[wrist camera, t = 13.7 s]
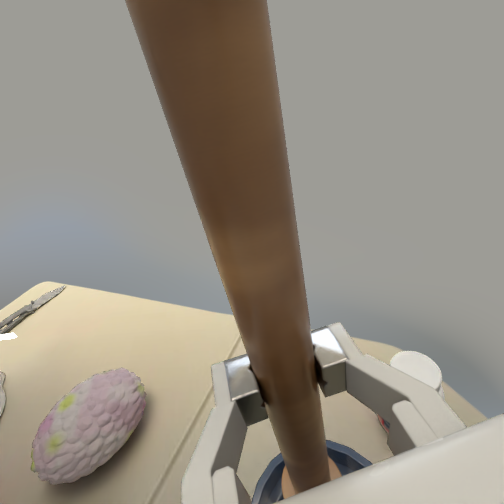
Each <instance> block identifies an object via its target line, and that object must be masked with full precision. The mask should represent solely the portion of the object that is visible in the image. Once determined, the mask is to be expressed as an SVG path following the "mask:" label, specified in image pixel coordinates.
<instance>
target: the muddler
mask: <svg viewBox="0 0 504 504" xmlns="http://www.w3.org/2000/svg"><path fill="white" fill-rule="evenodd" d="M125 1H126V4H127V7H128V10H129V13H130V16H131V19H132V22H133V25H134V27H135V30H136V33H137V36H138V39H139V42H140V45H141V48H142V50H143V53H144V56H145V59H146V62H147V65H148V68H149V71H150V74H151V77H152V79H153V83H154V85H155V88H156V91H157V94H158V97H159V100H160V103H161V105H162V109H163V111H164V114H165V117H166V120H167V123H168V126H169V129H170V132H171V135H172V137H173V141H174V143H175V146H176V149H177V152H178V155H179V158H180V161H181V164H182V167H183V169H184V172H185V175H186V178H187V181H188V184H189V187H190V190H191V193H192V196H193V199H194V201H195V204H196V207H197V210H198V213H199V215H200V219H201V221H202V225H203V228H204V230H205V233H206V236H207V239H208V242H209V245H210V248H211V250H212V254H213V257H214V259H215V262H216V265H217V268H218V271H219V274H220V277H221V280H222V283H223V286H224V288H225V291H226V294H227V297H228V300H229V303H230V306H231V309H232V312H233V315H234V317H235V320H236V323H237V326H238V329H239V332H240V335H241V338H242V341H243V344H244V346H245V349H246V352H247V355H248V358H249V361H250V364H251V367H252V370H253V372H254V374H255V376H256V379H257V382H258V385H259V388H260V391H261V393H262V396H263V399H264V402H265V406H266V410H267V413H268V416H269V419H270V422H271V425H272V428H273V431H274V433H275V436H276V439H277V442H278V445H279V448H280V451H281V454H282V457H283V460H284V462H285V467H284V470H283V474H282V483H281V484H282V493H283V497H284V499H286V498H288V497H291V496H293V495H296V494H299V493H301V492H304V491H306V490H309V489H311V488H314V487H316V486H319V485H322V484H324V483H327V482H329V481H332V480H334V479H337V478H339V477H342V475H341V473H340V471H339V469H338V467H337V465H336V464H335V463H334V461H333V460H332V459H331V458H330V457H329V456H328V454H327V447H326V440H325V432H324V425H323V417H322V410H321V402H320V395H319V387H318V380H317V372H316V365H315V357H314V350H313V342H312V335H311V328H310V320H309V313H308V305H307V298H306V290H305V283H304V275H303V268H302V260H301V253H300V245H299V238H298V231H297V223H296V216H295V208H294V200H293V193H292V185H291V178H290V170H289V163H288V156H287V148H286V141H285V134H284V126H283V118H282V111H281V103H280V96H279V88H278V81H277V73H276V66H275V59H274V51H273V43H272V36H271V28H270V21H269V15H268V14H269V13H268V6H267V0H125Z"/></svg>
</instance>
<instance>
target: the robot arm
mask: <svg viewBox="0 0 504 504" xmlns="http://www.w3.org/2000/svg"><path fill="white" fill-rule="evenodd" d="M311 335H312V342H313V350H314V357H315V365H316V372H317V380H318V384H319V386H320V388H321V390H322V392H323V394H324V396H325V397H328V396H331V395H334V394H337V393H340V392H343V391H346V390H347V392H348V393H349V394H351V395H352V396H353V397H355V398H356V399H357V400H359V401H360V402H361V403H363V404H364V405H366V406H367V407H368V408H370V409H371V410H372V411H374V412H375V413H376V414H378V415H379V416H380V417H382V418H383V419H385V420H386V421H387V422H389V423H390V427H389V434H388V441H387V444H388V446H389V448H390V449H391V451H392V453H393V454H394V456H393V457H390V458H388V459H385V460H383V461H380V462H378V463H375V464H373V465H370V466H367V467H365V468H362V469H360V470H357V471H355V472H352V473H350V474H347V475H344V476H342V477H339V478H337V479H334V480H332V481H329V482H327V483H324V484H322V485H319V486H316V487H314V488H311V489H309V490H306V491H304V492H301V493H299V494H296V495H293V496H291V497H288V498H286V499H283V500H281V501H278V502H276V503H273V504H504V413H503V414H500V415H498V416H495V417H493V418H490V419H487V420H485V421H482V422H480V423H477V424H475V425H472V426H470V427H467V426H466V425H465V424H464V423H463V422H462V420H461V419H460V418H459V417H458V416H457V415H456V413H455V412H454V411H453V410H452V409H451V408H450V406H449V405H448V404H447V403H446V402H445V401H444V399H443V398H442V397H441V396H440V395H439V393H438V392H437V391H436V390H435V389H434V388H433V387H431V386H429V385H427V384H425V383H423V382H421V381H419V380H417V379H415V378H413V377H411V376H409V375H408V374H406V373H404V372H402V371H400V370H398V369H396V368H394V367H392V366H390V365H388V364H386V363H384V362H382V361H380V360H378V359H376V358H374V357H372V356H370V355H368V354H364V355H363V354H362V352H361V351H360V350H359V348H358V347H357V345H356V344H355V342H354V341H353V340H352V338H351V337H350V335H349V334H348V333H347V331H346V330H345V328H344V327H343V325H342V324H341V323H340V322H337V323H334V324H331V325H328V326H324V327H322V328H319V329H316V330H313V331H311ZM16 337H17V336H16V335H15V334H14V333H8V334H1V335H0V340H4V339H12V338H16ZM211 373H212V381H213V389H214V397H215V405H216V407H215V408H212V409H211V412H210V414H209V417H208V419H207V421H206V424H205V426H204V429H203V431H202V433H201V436H200V438H199V440H198V443H197V445H196V448H195V450H194V452H193V455H192V457H191V459H190V462H189V464H188V467H187V469H186V471H185V474H184V476H183V478H182V481H181V504H251V499H250V496H249V494H248V493H247V491H246V489H245V488H244V486H243V484H242V483H241V481H240V479H239V478H238V476H237V474H236V472H237V468H238V464H239V460H240V456H241V452H242V448H243V444H244V440H245V436H246V432H247V426H250V425H252V424H255V423H257V422H260V421H262V420H265V419H267V418H269V417H268V413H267V410H266V406H265V402H264V399H263V396H262V393H261V391H260V388H259V385H258V382H257V379H256V376H255V374H254V372H253V370H252V367H251V364H250V361H249V358H248V355H247V354H244V355H241V356H238V357H235V358H232V359H228V360H225V361H222V362H219V363H216V364H213V365H211ZM4 379H5V374H4V373H3V372H1V371H0V416H1V414H2V412H3V409H4V406H5V401H6V397H5V393H4V390H3V388H2V385H3V382H4Z"/></svg>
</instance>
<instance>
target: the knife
mask: <svg viewBox="0 0 504 504" xmlns="http://www.w3.org/2000/svg"><path fill="white" fill-rule="evenodd" d="M64 287H65V285H64V286H62V287H60V288H57V289H55V290H53V291H50V292H48V293H46V294H44V295H43V296H41V297H40V298H38V299H37V300H35V301H31V304H29V305H26V306H24V307H23V308H21V309H20V310H18V311H17V312H15V313H13V314H12V315H10V316H9V317H7V318H6V319H4V320H3V321H2V322H0V329H1V328H2V327H4V326H5V325H6V324H7V327H6V328H4V329H3V330H0V335H1V334H6V333H7V332H9V331H10V330H11V329H12V328H13V327H14V326H15V325H16V324H18V323H19V322H21V320H22V318H23V317H24V316H26V315H29V314H32V313H34V310H35V309H38V308H39V307H40V306H41V305H42V304H44V303H45V302H47V301H48V300H50V299H51V298H53V297H54V296H55V295H57V294H58V293H60V292H61V291H62V290H63V289H64ZM19 315H20V316H19ZM18 316H19V318H18V319H16V320H14V321H13V319H15V318H16V317H18Z"/></svg>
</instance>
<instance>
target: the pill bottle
mask: <svg viewBox="0 0 504 504" xmlns="http://www.w3.org/2000/svg"><path fill="white" fill-rule="evenodd" d="M390 366H392V367H394V368H396V369H398V370H400V371H402V372H404V373H406V374H408V375H409V376H411V377H413V378H415V379H417V380H419V381H421V382H423V383H425V384H427V385H429V386H431V387H433V388H434V389H435V390H436V391H437V392H438V393H439V395H440V396H441V397H442V398H443V399H444V391H443V388H442V386H441V382H442V375H441V371H440V369H439V367H438V366H437V364H436V363H435V362H434V361H433V360H431V359H430V358H429V357H427V356H425V355H423V354H421V353H418V352H415V351H402V352H399V353H397V354H396V355H394V356H393V358H392V359H391V361H390ZM377 415H378V414H377ZM378 418H379V421H380V423H381V425H382V427H383V428H384V429H385V431H386V432H387V433H388V434H389V427H390V423H389V422H387V421H386V420H385V419H383V418H382V417H380V416H379V415H378Z"/></svg>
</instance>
